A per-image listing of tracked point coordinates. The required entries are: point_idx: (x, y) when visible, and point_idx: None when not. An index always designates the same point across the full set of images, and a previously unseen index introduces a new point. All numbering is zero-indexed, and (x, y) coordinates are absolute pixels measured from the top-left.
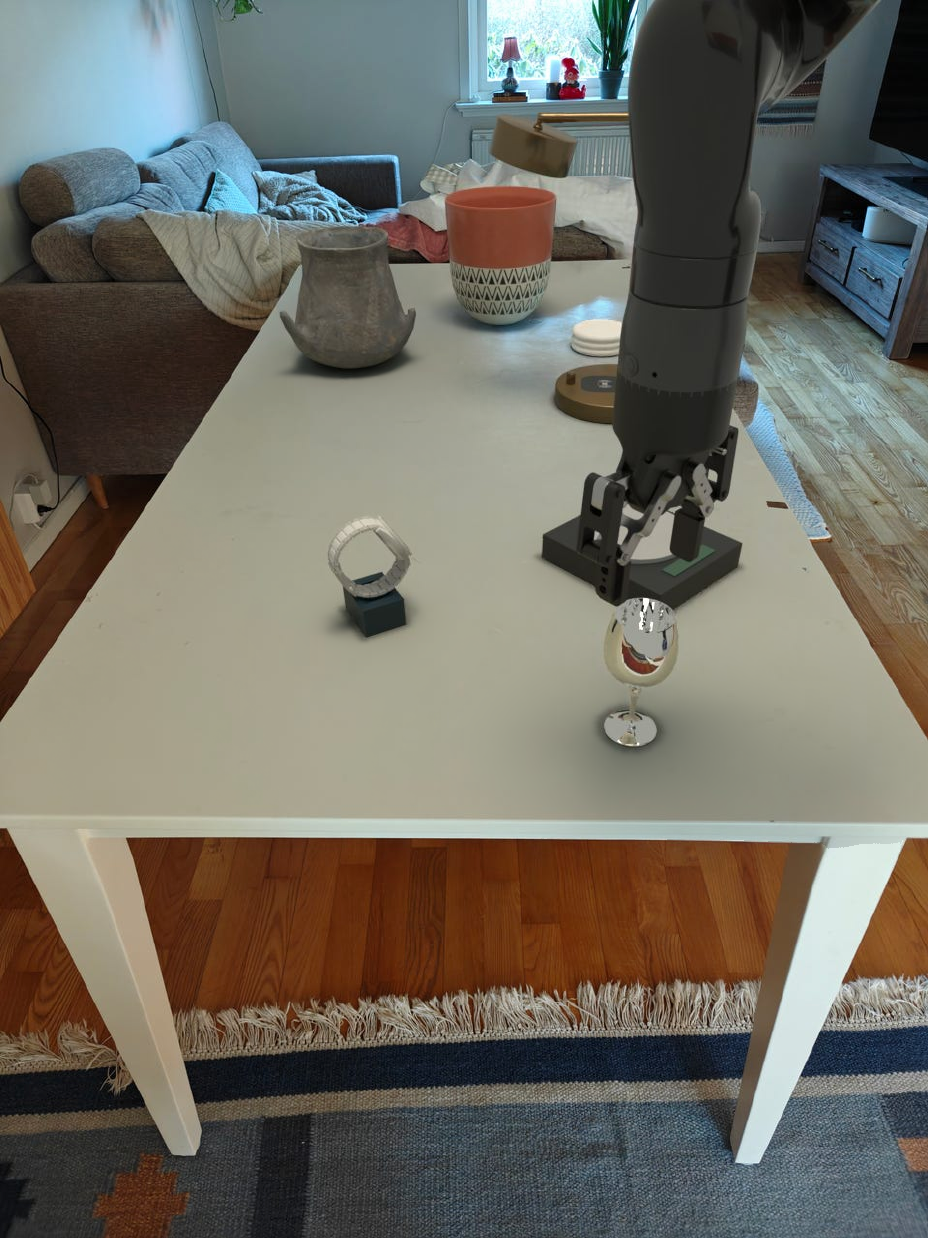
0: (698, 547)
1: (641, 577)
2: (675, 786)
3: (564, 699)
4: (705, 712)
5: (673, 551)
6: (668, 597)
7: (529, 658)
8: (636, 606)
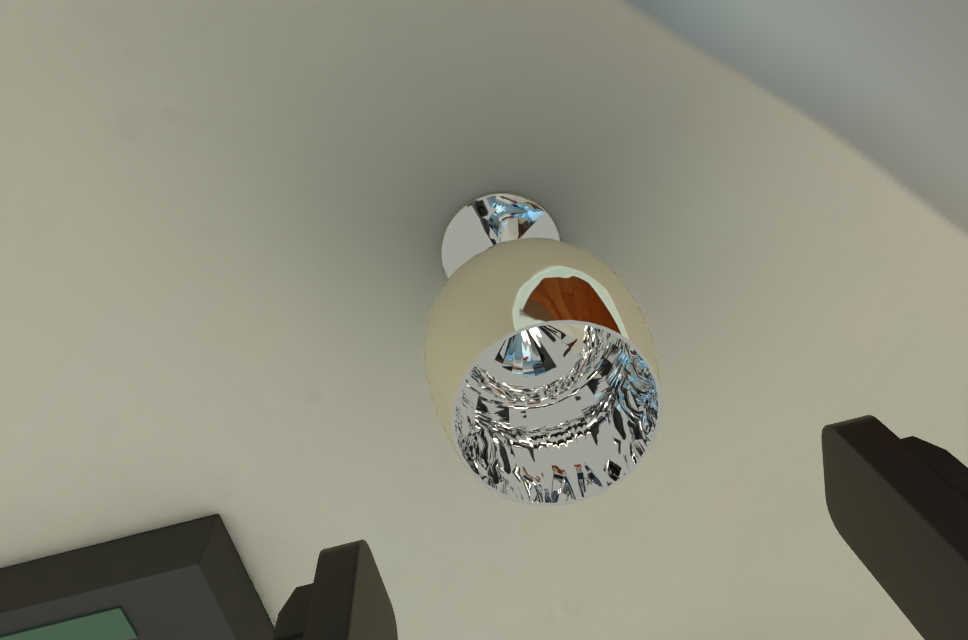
0: (325, 588)
1: (203, 632)
2: (528, 49)
3: None
4: (307, 213)
5: (392, 618)
6: (171, 555)
7: (554, 519)
8: (506, 480)
